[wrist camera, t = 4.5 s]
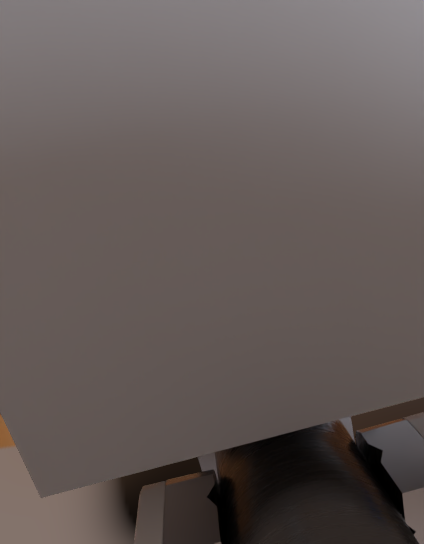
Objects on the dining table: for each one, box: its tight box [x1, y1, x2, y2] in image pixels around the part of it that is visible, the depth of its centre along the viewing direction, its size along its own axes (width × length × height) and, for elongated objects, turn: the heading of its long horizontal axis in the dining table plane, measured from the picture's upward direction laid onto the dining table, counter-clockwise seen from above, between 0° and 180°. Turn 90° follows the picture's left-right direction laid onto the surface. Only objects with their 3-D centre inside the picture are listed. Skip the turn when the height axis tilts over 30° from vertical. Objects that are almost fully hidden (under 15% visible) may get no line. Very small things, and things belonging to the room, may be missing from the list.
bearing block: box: [0, 0, 424, 498], centre depth 12 cm, size 8×8×15 cm
